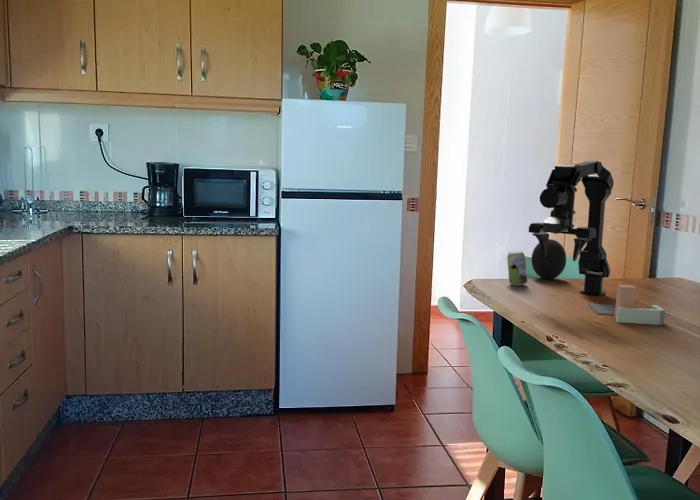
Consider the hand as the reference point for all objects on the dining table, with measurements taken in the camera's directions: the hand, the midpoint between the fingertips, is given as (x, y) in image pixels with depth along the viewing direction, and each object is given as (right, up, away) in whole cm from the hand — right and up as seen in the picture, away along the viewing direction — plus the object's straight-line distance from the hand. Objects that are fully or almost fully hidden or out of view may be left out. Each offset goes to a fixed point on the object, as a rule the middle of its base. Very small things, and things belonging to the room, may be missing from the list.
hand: (559, 259), depth 184 cm
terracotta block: (+15, -17, -11) cm, 25 cm away
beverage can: (-4, -10, +33) cm, 35 cm away
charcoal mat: (+16, -15, -1) cm, 22 cm away
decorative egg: (+11, -8, +46) cm, 48 cm away
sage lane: (+18, -17, -12) cm, 27 cm away
